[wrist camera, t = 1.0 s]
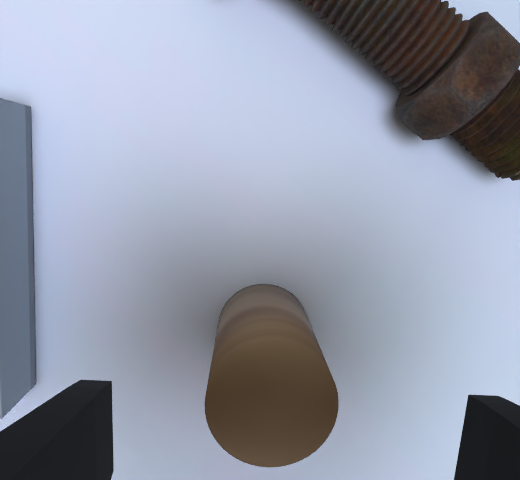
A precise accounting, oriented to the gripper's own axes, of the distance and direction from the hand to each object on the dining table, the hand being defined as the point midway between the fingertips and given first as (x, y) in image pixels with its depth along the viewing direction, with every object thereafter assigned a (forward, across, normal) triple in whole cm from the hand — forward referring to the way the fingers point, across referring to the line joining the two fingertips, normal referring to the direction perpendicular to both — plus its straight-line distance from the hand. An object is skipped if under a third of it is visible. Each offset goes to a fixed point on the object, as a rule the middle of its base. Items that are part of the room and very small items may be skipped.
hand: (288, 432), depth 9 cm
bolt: (+13, -4, -10) cm, 16 cm away
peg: (+11, 0, +3) cm, 12 cm away
